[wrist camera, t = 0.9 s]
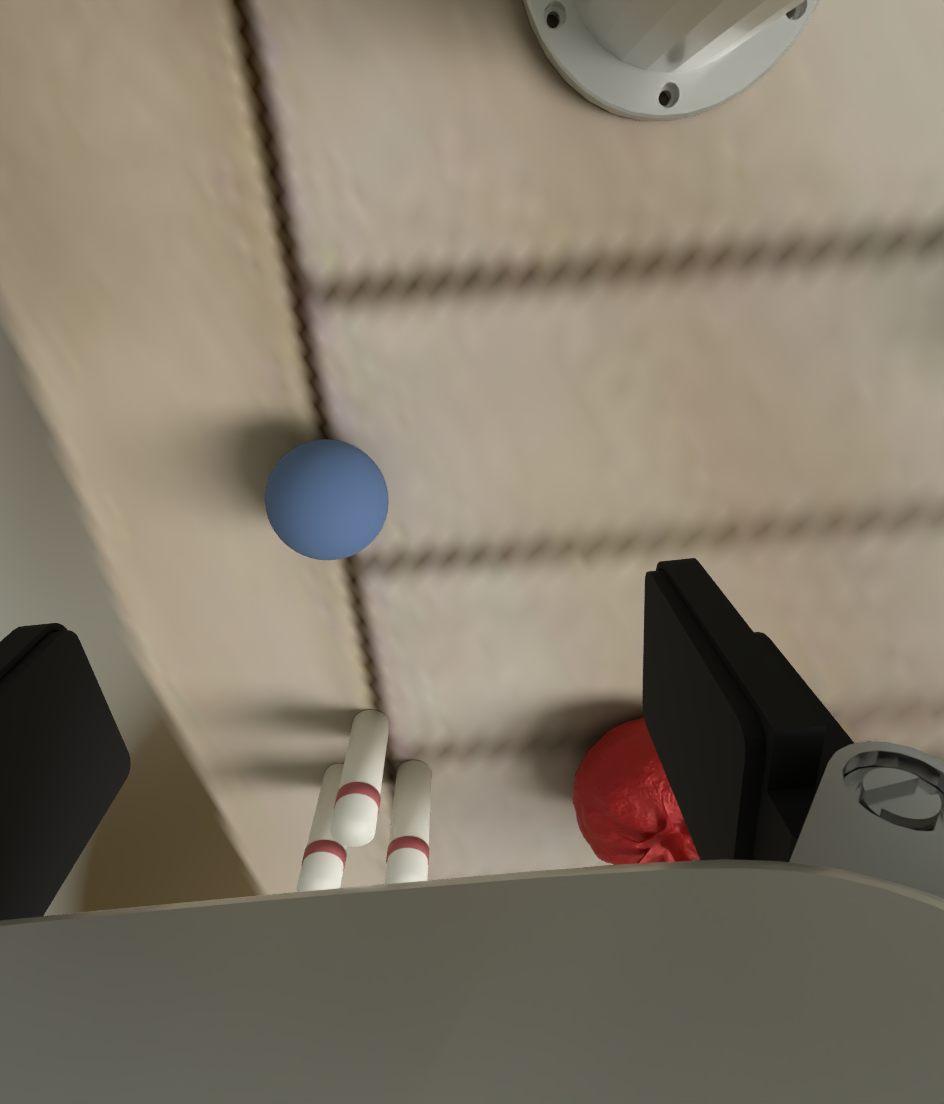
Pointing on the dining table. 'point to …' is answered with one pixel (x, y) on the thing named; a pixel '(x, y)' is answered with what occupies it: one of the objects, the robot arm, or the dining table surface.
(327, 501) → the ball
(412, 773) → the pin
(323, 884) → the pin
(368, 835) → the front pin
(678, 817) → the pomegranate
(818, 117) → the dining table surface
